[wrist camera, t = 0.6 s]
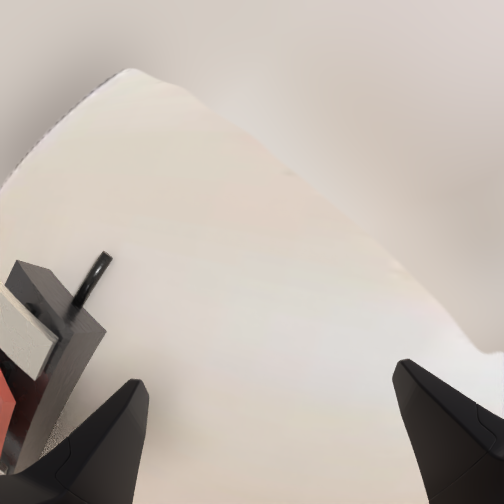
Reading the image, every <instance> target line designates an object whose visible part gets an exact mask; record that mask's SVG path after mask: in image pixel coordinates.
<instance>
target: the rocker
mask: <svg viewBox="0 0 504 504" xmlns="http://www.w3.org/2000/svg"><path fill="white" fill-rule="evenodd" d="M15 404H16V401H15V399H14V397H13V395H12V393H11V391H10V389H9V387H8V385H7V383H6V380H5V378H4V376H3V374H2V371H1V369H0V457H1V452H2V448H3V444H4V440H5V437H6V433H7V429H8V426H9V423H10V419H11V416H12V413H13V410H14V407H15Z"/></svg>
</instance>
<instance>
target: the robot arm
mask: <svg viewBox="0 0 504 504" xmlns="http://www.w3.org/2000/svg"><path fill="white" fill-rule="evenodd" d="M392 381H393V385H394V389H395V393H396V397H397V401H398V405H399V409H400V412H401V416H402V419H403V422H404V424H405V427H406V430H407V433H408V436H409V439H410V441H411V444H412V447H413V450H414V453H415V456H416V459H417V463H418V466H419V469H420V472H421V475H422V479H423V482H424V486H425V489H426V493H427V496H428V500H429V504H504V419H502V418H500V417H499V416H497V415H495V414H493V413H491V412H490V411H488V410H487V409H485V408H483V407H482V406H480V405H479V404H476V402H474V401H473V400H471V399H470V398H468V397H466V396H465V395H463V394H462V393H460V392H459V391H457V390H456V389H454V388H453V387H451V386H450V385H448V384H447V383H445V382H444V381H442V380H441V379H439V378H438V377H436V376H435V375H433V374H432V373H430V372H428V371H427V370H425V369H424V368H422V367H421V366H419V365H418V364H416V363H415V362H413V361H412V360H410V359H404V360H400V361H399V362H398V363H397V365H396V368H395V371H394V373H393V377H392ZM148 406H149V394H148V392H147V390H146V388H145V385H144V383H143V381H142V380H140V379H130V380H128V381H127V382H126V383H125V384H124V385H123V386H122V387H121V388H120V389H119V390H118V391H117V392H116V393H114V394H113V395H112V396H111V397H110V398H109V399H108V400H107V401H106V402H105V403H104V404H103V405H101V406H100V407H99V408H98V409H97V410H96V411H95V412H94V413H93V414H92V415H91V416H90V417H88V418H87V419H86V420H85V421H84V422H83V423H82V424H81V425H80V426H79V427H78V428H76V429H75V430H74V431H73V432H72V433H71V434H70V435H69V437H66V438H65V439H64V440H63V441H62V442H61V443H60V444H59V445H57V446H56V447H55V448H54V449H53V450H51V451H50V452H49V453H47V454H46V455H45V456H43V457H42V458H41V459H39V460H38V461H36V462H35V463H33V464H32V465H31V466H29V467H28V468H26V469H25V470H23V471H21V472H19V473H16V474H11V475H0V504H132V502H133V496H134V491H135V485H136V479H137V474H138V469H139V464H140V459H141V454H142V449H143V445H144V440H145V434H146V425H147V415H148Z"/></svg>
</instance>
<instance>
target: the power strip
mask: <svg viewBox="0 0 504 504" xmlns="http://www.w3.org/2000/svg"><path fill="white" fill-rule="evenodd" d="M112 259H113V258H112V257H111V256H110V255H109V254H108V253H106V252H105V251H103V252H102V254H101V255H100V257H99V258H98V260H97V261H96V263H95V264H94V266H93V267H92V269H91V271H90V272H89V274H88V275H87V277H86V278H85V280H84V282H83V283H82V285H81V287H80V288H79V290H78V292H77V293H76V295H75V297H73V296H72V295H71V294H70V293H69V292H68V290H67V289H66V288H65V287H64V286H63V285H62V284H61V282H60V281H59V280H58V279H57V278H56V277H55V275H54V274H53V273H52V272H51V271H50V270H49V269H46V268H42V267H39V266H36V265H32V264H29V263H26V262H22V261H19V260H16V262H15V264H14V266H13V268H12V271H11V273H10V275H9V277H8V279H7V281H6V283H5V285H4V284H3V283H2V282H1V281H0V369H1V371H2V374H3V376H4V378H5V380H6V383H7V385H8V387H9V389H10V391H11V393H12V395H13V397H14V399H15V401H16V404H15V407H14V410H13V413H12V416H11V419H10V423H9V426H8V429H7V433H6V437H5V440H4V444H3V448H2V452H1V457H0V475H11V474H16V473H19V472H21V471H23V470H25V469H26V468H28V467H29V466H31V465H32V464H33V463H35V462H36V461H38V460H39V458H40V455H41V453H42V451H43V449H44V446H45V444H46V442H47V440H48V438H49V436H50V434H51V431H52V429H53V427H54V425H55V423H56V421H57V419H58V417H59V415H60V413H61V411H62V409H63V407H64V405H65V403H66V402H67V400H68V398H69V396H70V394H71V392H72V390H73V388H74V387H75V385H76V383H77V381H78V379H79V377H80V376H81V374H82V372H83V370H84V369H85V367H86V365H87V363H88V362H89V360H90V358H91V357H92V355H93V353H94V351H95V350H96V348H97V346H98V345H99V343H100V341H101V340H102V338H103V337H104V335H105V333H106V332H107V331H106V330H105V329H104V328H103V327H102V326H101V325H100V324H99V323H98V322H97V321H96V320H95V319H94V318H93V317H92V316H91V315H90V314H89V313H88V312H87V311H86V310H85V309H84V308H83V305H84V303H85V302H86V300H87V298H88V297H89V295H90V293H91V292H92V290H93V288H94V287H95V285H96V284H97V282H98V280H99V279H100V277H101V276H102V274H103V273H104V271H105V270H106V268H107V267H108V265H109V264H110V262H111V261H112Z"/></svg>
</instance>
